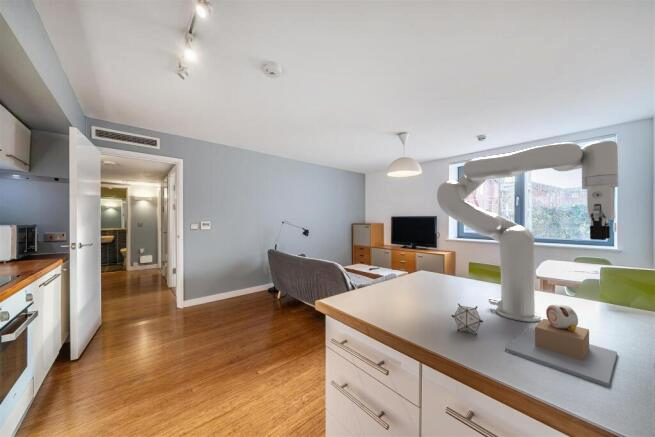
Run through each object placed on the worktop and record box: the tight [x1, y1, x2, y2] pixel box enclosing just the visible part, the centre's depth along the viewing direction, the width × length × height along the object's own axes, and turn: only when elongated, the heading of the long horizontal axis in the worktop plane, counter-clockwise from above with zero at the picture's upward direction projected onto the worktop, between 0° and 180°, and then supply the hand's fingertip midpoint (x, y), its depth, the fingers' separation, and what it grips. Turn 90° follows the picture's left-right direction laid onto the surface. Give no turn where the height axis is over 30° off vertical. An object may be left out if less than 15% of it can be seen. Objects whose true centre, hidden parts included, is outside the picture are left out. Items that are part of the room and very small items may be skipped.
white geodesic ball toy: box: [450, 302, 484, 336], centre depth 76 cm, size 9×8×10 cm
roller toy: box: [545, 304, 579, 332], centre depth 65 cm, size 4×6×6 cm
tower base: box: [504, 318, 618, 388], centre depth 64 cm, size 18×20×6 cm
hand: (600, 238), depth 76 cm, fingers open, 9 cm apart
